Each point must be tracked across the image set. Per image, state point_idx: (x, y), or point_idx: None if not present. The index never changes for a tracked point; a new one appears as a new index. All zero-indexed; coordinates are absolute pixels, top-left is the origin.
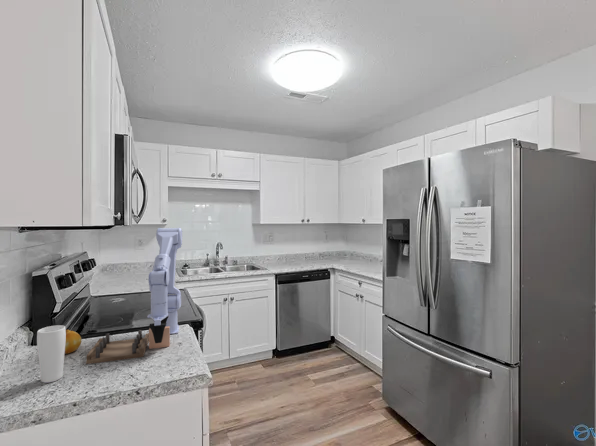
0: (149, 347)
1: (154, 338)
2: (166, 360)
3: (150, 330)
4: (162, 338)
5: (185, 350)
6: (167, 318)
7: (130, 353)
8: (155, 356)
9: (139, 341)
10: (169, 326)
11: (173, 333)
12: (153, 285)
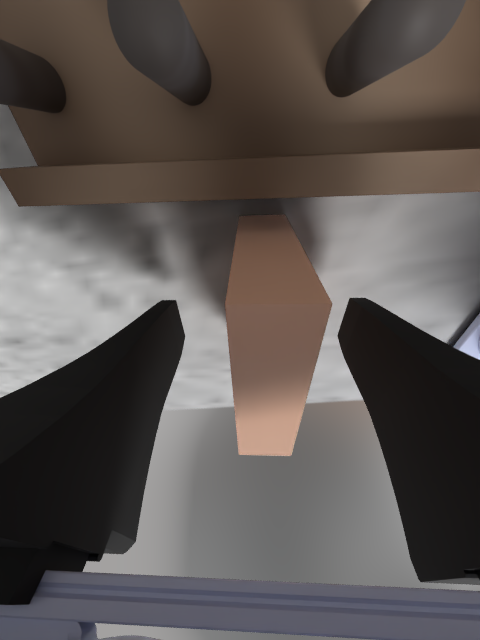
0: (238, 222)
1: (132, 324)
2: (54, 332)
3: (228, 318)
4: (177, 361)
5: (172, 386)
6: (406, 535)
7: (17, 21)
8: (96, 278)
9: (340, 83)
10: (280, 454)
11: (454, 346)
12: None
